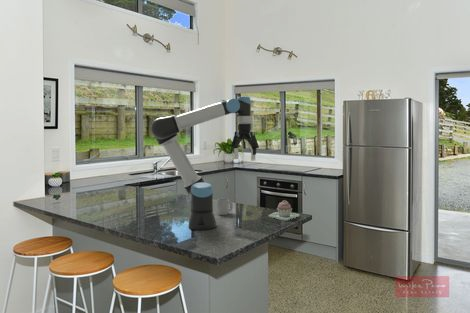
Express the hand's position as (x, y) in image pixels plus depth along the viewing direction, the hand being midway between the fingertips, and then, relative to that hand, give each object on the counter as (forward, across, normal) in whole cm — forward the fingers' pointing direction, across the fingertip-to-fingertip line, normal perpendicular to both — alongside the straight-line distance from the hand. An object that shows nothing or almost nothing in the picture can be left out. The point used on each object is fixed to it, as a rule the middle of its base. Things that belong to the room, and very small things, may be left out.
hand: (244, 159), depth 230 cm
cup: (+35, +17, 0) cm, 39 cm away
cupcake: (+34, -16, -17) cm, 42 cm away
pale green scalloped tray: (+35, -16, -17) cm, 42 cm away
